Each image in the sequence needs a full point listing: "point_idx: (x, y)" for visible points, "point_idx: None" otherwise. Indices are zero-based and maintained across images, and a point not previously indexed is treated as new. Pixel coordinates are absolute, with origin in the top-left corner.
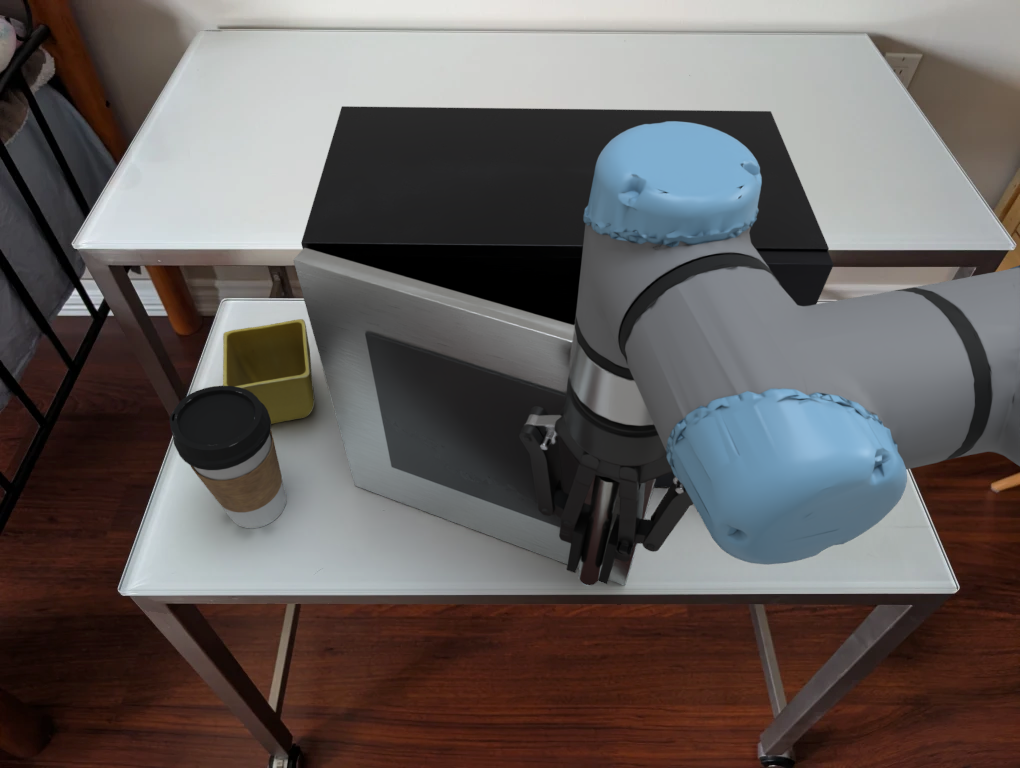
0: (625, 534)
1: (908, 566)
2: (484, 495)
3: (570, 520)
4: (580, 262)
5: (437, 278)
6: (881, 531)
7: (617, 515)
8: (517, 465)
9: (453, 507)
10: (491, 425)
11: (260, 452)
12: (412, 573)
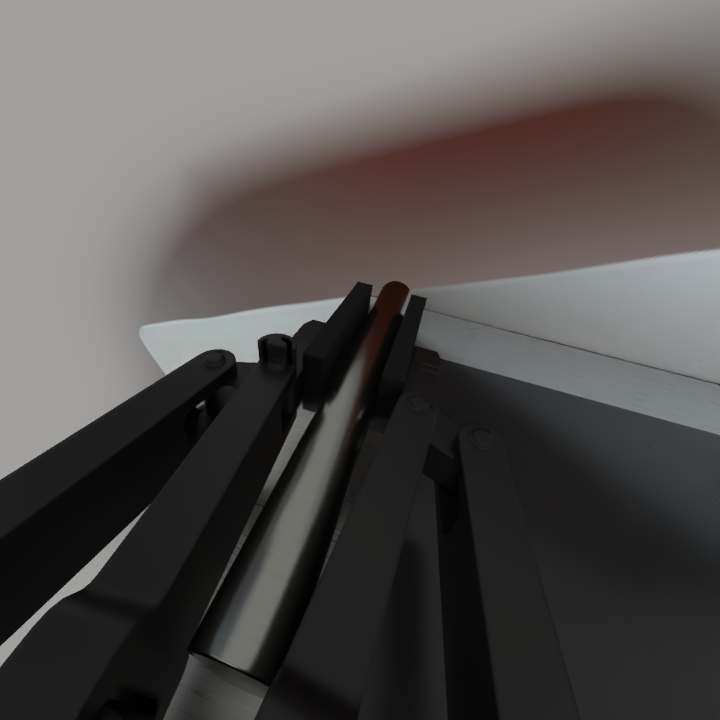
0: (263, 388)
1: (158, 337)
2: (564, 400)
3: (409, 415)
4: None
5: None
6: (183, 362)
7: None
8: (529, 481)
9: (597, 373)
10: (627, 624)
11: None
12: (666, 275)
